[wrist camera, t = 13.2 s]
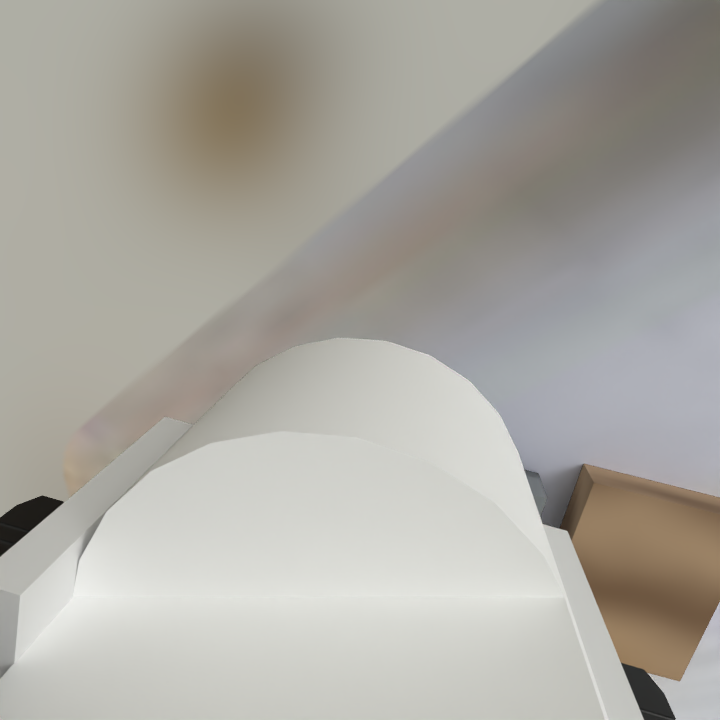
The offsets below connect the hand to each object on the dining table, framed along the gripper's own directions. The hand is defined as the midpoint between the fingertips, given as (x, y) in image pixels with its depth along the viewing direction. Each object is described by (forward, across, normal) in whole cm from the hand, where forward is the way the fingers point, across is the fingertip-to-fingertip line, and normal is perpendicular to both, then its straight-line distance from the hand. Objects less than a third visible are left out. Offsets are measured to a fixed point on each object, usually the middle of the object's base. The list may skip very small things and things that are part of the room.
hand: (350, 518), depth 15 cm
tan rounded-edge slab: (+16, +16, -8) cm, 24 cm away
